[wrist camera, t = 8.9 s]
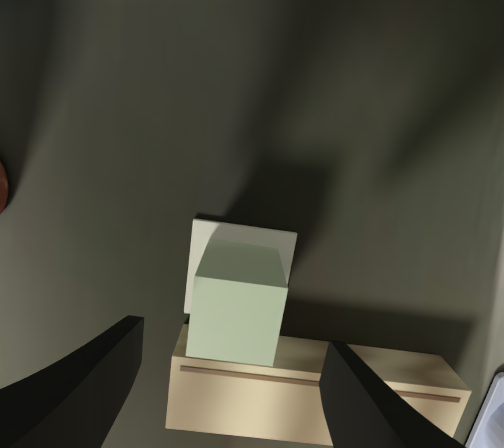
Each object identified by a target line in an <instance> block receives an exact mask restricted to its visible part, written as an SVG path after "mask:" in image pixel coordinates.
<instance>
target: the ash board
mask: <svg viewBox="0 0 504 448" xmlns="http://www.w3.org/2000/svg"><path fill="white" fill-rule="evenodd" d="M188 330H189V325H188V324H183V327H182V330H181V333H180V335H179V338H178V341H177V344H176V347H175V350H174V352H173V355H172V363H171V374H170V385H169V396H168V407H167V417H166V428H170V429H179V430H189V431H198V432H208V433H217V434H227V435H236V436H246V437H255V438H265V439H274V440H284V441H294V442H303V443H313V444H322V445H332V446H333V444H332V440H331V437H330V433H329V430H328V426H327V423H326V419H325V416H324V412H323V408H322V402H321V396H320V389H319V380H320V376H321V372H322V368H323V364H324V360H325V356H326V352H327V348H328V344H329V342H327V341H319V340H311V339H303V338H294V337H286V336H279V337H278V342H277V347H276V352H275V357H274V362H273V366H264V365H256V364H247V363H239V362H231V361H222V360H214V359H205V358H197V357H189V356H186V348H187V339H188ZM347 345H348V346H349V347H350V348H351V349H352V350H353V351H354V352H355V353H356V354H357V355H358V356H359V357H360V358H361V359H362V360H363V361H364V362H365V363H366V364H367V365H368V366H369V367H370V368H371V369H372V370H373V371H374V372H375V373H376V374H377V375H378V376H379V377H380V378H381V379H382V380H383V381H384V382H385V383H386V384H387V385H388V386H389V387H391V388H392V389H393V390H394V391H395V392H396V393H397V394H398V395H399V396H400V397H402V398H403V399H404V400H405V401H406V402H407V403H408V404H409V405H411V406H412V407H413V408H414V409H415V410H417V411H418V412H419V413H420V414H422V415H423V416H424V417H425V418H427V419H428V420H429V421H431V422H432V423H433V424H434V425H436V426H437V427H438V428H440V429H441V430H442V431H444V432H445V433H446V434H448V435H449V436H451V437H453V435H454V433H455V430H456V428H457V425H458V423H459V421H460V418H461V416H462V413H463V411H464V409H465V406H466V404H467V401H468V399H469V396H470V394H471V392H472V391H471V390H470V389H469V388H468V386H467V385H466V384H465V383H464V382H463V381H462V380H461V379H460V377H459V376H458V375H457V374H456V373H455V372H454V371H453V369H452V368H451V367H450V366H449V365H448V364H447V363H446V362H445V360H444V359H443V358H442V357H441V356H440V355H433V354H425V353H417V352H409V351H401V350H393V349H384V348H376V347H368V346H360V345H352V344H347Z"/></svg>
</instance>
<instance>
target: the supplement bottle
mask: <svg viewBox="0 0 504 448" xmlns="http://www.w3.org/2000/svg"><path fill="white" fill-rule="evenodd" d="M7 196H8V179H7V176H6V172H5V169H4V166H3V165H2V163H1V161H0V214H1V212H2V210H3V208H4V207H5V204H6V201H7Z"/></svg>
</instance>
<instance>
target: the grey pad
mask: <svg viewBox="0 0 504 448" xmlns="http://www.w3.org/2000/svg"><path fill="white" fill-rule="evenodd" d="M209 239H216V240H223V241H230V242H238V243H245V244H252V245H259V246H266V247H274V248H278V252H279V255H280V259H281V263H282V267H283V271H284V274H285V278H286V282H287V284H288V279H289V274H290V269H291V264H292V259H293V254H294V249H295V244H296V239H297V233H295V232H288V231H281V230H274V229H266V228H259V227H252V226H245V225H238V224H230V223H223V222H216V221H209V220H202V219H195V218H194V219H193V227H192V237H191V247H190V257H189V267H188V277H187V287H186V297H185V307H184V313H190V312H191V302H192V293H193V284H194V276H195V273H196V271H197V268H198V266H199V263H200V261H201V258H202V255H203V253H204V250H205V248H206V245H207V243H208V240H209Z"/></svg>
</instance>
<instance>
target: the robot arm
mask: <svg viewBox="0 0 504 448" xmlns="http://www.w3.org/2000/svg"><path fill="white" fill-rule="evenodd" d="M143 328H144V317H138V316H130V315H128V316H126V317H125V318H123V319H122V320H120V321H119V322H118V323H116V324H115V325H113V326H112V327H110V328H109V329H107V330H106V331H105V332H103V333H102V334H100V335H99V336H97V337H96V338H94V339H93V340H91V341H90V342H88V343H87V344H85V345H84V346H82V347H80V348H79V349H77V350H75V351H74V352H72V353H70V354H69V355H67V356H66V357H64V358H62V359H61V360H59V361H57V362H55V363H54V364H52V365H50V366H48V367H46V368H44V369H42V370H40V371H38V372H36V373H34V374H32V375H30V376H28V377H26V378H24V379H22V380H20V381H18V382H15V383H13V384H11V385H9V386H6V387H4V388H2V389H0V448H101V446H102V444H103V442H104V440H105V438H106V436H107V434H108V433H109V431H110V429H111V427H112V425H113V423H114V421H115V419H116V417H117V415H118V413H119V412H120V410H121V408H122V406H123V404H124V402H125V400H126V398H127V396H128V394H129V392H130V390H131V388H132V386H133V383H134V381H135V378H136V376H137V373H138V370H139V368H140V365H141V360H142V344H143ZM319 389H320V396H321V402H322V408H323V412H324V416H325V419H326V423H327V426H328V430H329V433H330V437H331V440H332V444H333V447H334V448H504V372H501V373H498V374H497V375H496V376H495V378H494V380H493V383H492V385H491V387H490V390H489V392H488V394H487V397H486V399H485V401H484V403H483V406H482V408H481V410H480V413H479V415H478V417H477V420H476V422H475V424H474V427H473V429H472V431H471V434H470V436H469V438H468V440H467V443H466V445H465V446H464V445H462V444H461V443H459V442H458V441H456V440H455V439H453V438H452V437H451V436H449V435H448V434H446V433H445V432H444V431H442V430H441V429H440V428H438V427H437V426H436V425H434V424H433V423H432V422H431V421H429V420H428V419H427V418H425V417H424V416H423V415H422V414H420V413H419V412H418V411H417V410H415V409H414V408H413V407H412V406H411V405H409V404H408V403H407V402H406V401H405V400H404V399H403V398H402V397H400V396H399V395H398V394H397V393H396V392H395V391H394V390H393V389H392V388H391V387H389V386H388V385H387V384H386V383H385V382H384V381H383V380H382V379H381V378H380V377H379V376H378V375H377V374H376V373H375V372H374V371H373V370H372V369H371V368H370V367H369V366H368V365H367V364H366V363H365V362H364V361H363V360H362V359H361V358H360V357H359V356H358V355H357V354H356V353H355V352H354V351H353V350H352V349H351V348H350V347H349V346H348V345H347V344H346V343H345V342H338V341H330V340H329V344H328V348H327V352H326V356H325V360H324V364H323V368H322V372H321V376H320V380H319Z"/></svg>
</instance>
